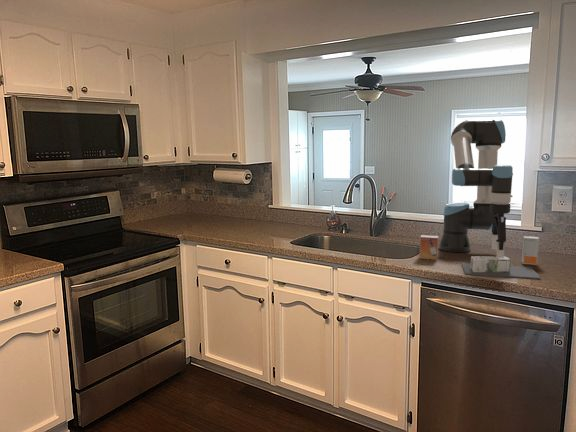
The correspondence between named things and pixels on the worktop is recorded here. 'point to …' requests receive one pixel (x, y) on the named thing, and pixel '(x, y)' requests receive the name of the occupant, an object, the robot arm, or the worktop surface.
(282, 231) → the worktop surface
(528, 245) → the skincare box
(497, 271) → the syrup box
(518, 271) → the charcoal mat
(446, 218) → the robot arm
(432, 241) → the small box
